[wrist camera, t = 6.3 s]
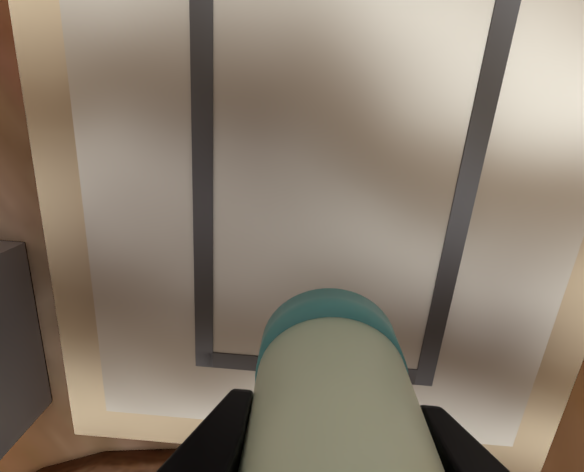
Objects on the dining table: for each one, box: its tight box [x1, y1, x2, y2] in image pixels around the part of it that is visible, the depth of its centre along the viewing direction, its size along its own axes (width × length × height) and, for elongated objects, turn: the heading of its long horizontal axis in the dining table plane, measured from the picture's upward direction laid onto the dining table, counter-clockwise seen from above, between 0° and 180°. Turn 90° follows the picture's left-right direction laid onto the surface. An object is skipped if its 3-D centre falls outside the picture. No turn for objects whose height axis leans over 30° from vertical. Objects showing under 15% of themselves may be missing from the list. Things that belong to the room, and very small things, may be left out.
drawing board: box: [8, 0, 584, 472], centre depth 11 cm, size 24×18×1 cm
